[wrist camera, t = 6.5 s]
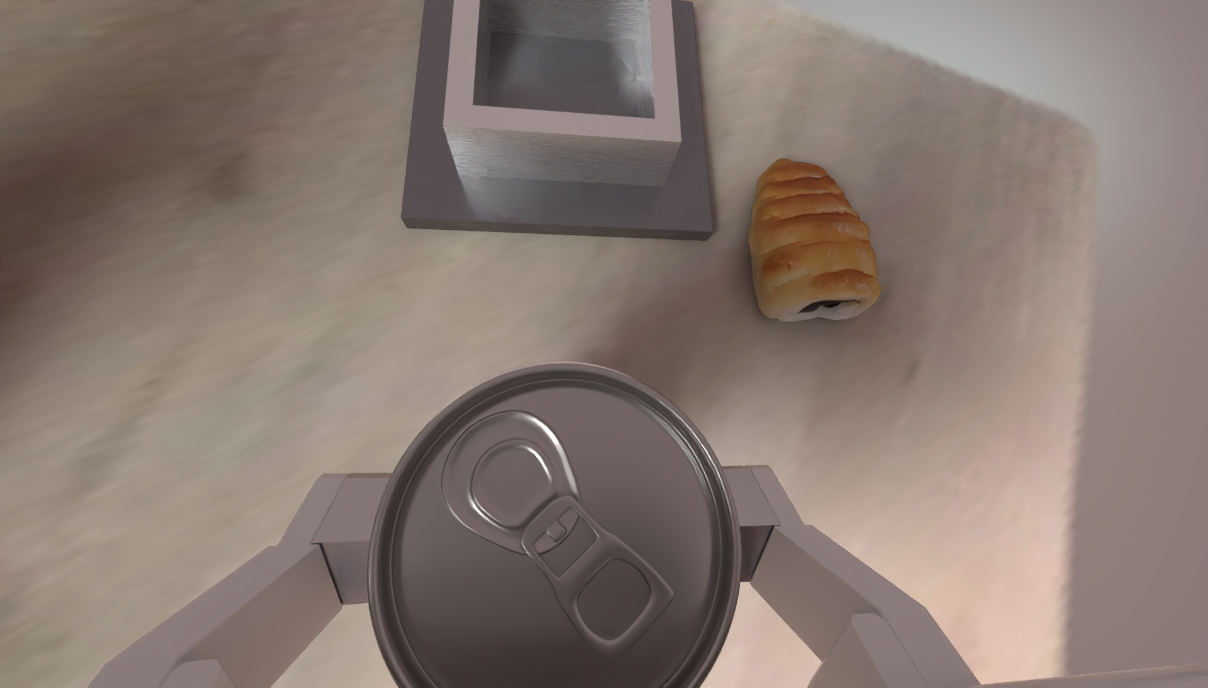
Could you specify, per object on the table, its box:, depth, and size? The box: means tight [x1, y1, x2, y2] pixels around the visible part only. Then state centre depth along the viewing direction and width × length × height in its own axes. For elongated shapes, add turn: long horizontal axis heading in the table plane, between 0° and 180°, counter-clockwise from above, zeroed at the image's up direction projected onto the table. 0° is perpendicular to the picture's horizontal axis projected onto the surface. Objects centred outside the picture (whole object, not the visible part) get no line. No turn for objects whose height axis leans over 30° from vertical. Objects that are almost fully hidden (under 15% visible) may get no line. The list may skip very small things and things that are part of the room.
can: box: [367, 361, 742, 688], centre depth 12 cm, size 6×6×12 cm
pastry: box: [747, 159, 882, 322], centre depth 24 cm, size 9×7×4 cm
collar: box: [401, 0, 713, 240], centre depth 24 cm, size 16×16×4 cm
